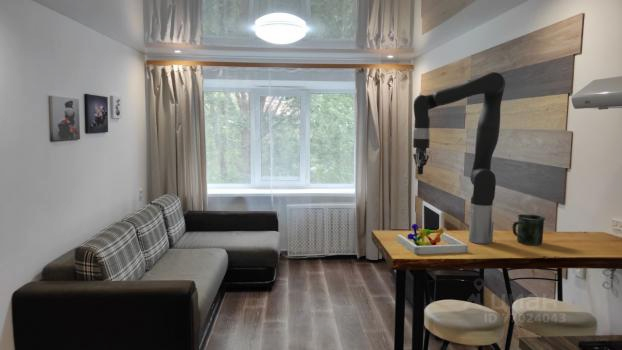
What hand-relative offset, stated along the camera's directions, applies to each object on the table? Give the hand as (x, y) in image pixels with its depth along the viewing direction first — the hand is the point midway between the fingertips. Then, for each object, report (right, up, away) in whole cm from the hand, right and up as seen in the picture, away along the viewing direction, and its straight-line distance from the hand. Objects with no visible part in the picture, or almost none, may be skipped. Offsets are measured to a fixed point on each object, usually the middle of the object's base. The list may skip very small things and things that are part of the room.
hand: (420, 174), depth 209 cm
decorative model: (-3, -31, -18) cm, 36 cm away
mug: (+45, -31, -12) cm, 56 cm away
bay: (-1, -31, -20) cm, 37 cm away
